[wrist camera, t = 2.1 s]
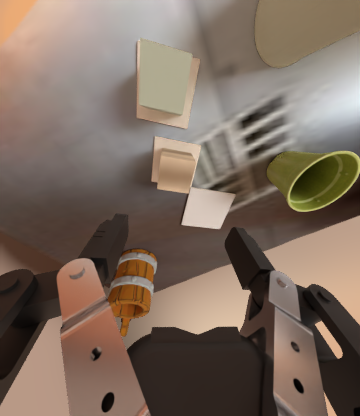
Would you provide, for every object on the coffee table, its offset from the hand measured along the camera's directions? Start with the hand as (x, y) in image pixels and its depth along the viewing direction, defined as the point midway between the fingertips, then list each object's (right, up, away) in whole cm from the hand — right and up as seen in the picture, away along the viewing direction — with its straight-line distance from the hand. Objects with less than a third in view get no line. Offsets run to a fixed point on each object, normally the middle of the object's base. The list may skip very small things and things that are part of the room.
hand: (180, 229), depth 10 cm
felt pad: (+6, +1, +21) cm, 22 cm away
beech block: (-1, +10, +15) cm, 18 cm away
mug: (-13, -16, +31) cm, 37 cm away
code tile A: (-1, +10, +15) cm, 18 cm away
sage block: (-2, +18, +9) cm, 20 cm away
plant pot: (+20, +10, +17) cm, 28 cm away
